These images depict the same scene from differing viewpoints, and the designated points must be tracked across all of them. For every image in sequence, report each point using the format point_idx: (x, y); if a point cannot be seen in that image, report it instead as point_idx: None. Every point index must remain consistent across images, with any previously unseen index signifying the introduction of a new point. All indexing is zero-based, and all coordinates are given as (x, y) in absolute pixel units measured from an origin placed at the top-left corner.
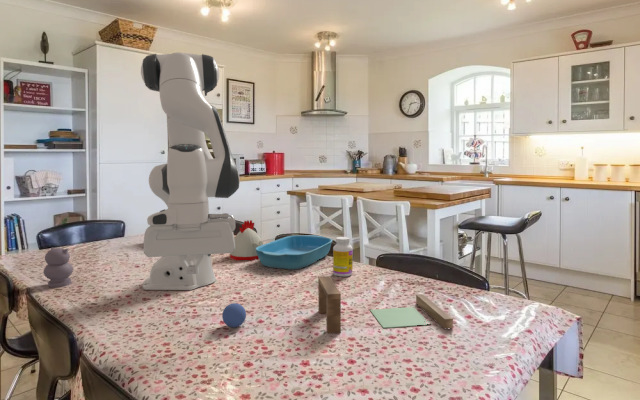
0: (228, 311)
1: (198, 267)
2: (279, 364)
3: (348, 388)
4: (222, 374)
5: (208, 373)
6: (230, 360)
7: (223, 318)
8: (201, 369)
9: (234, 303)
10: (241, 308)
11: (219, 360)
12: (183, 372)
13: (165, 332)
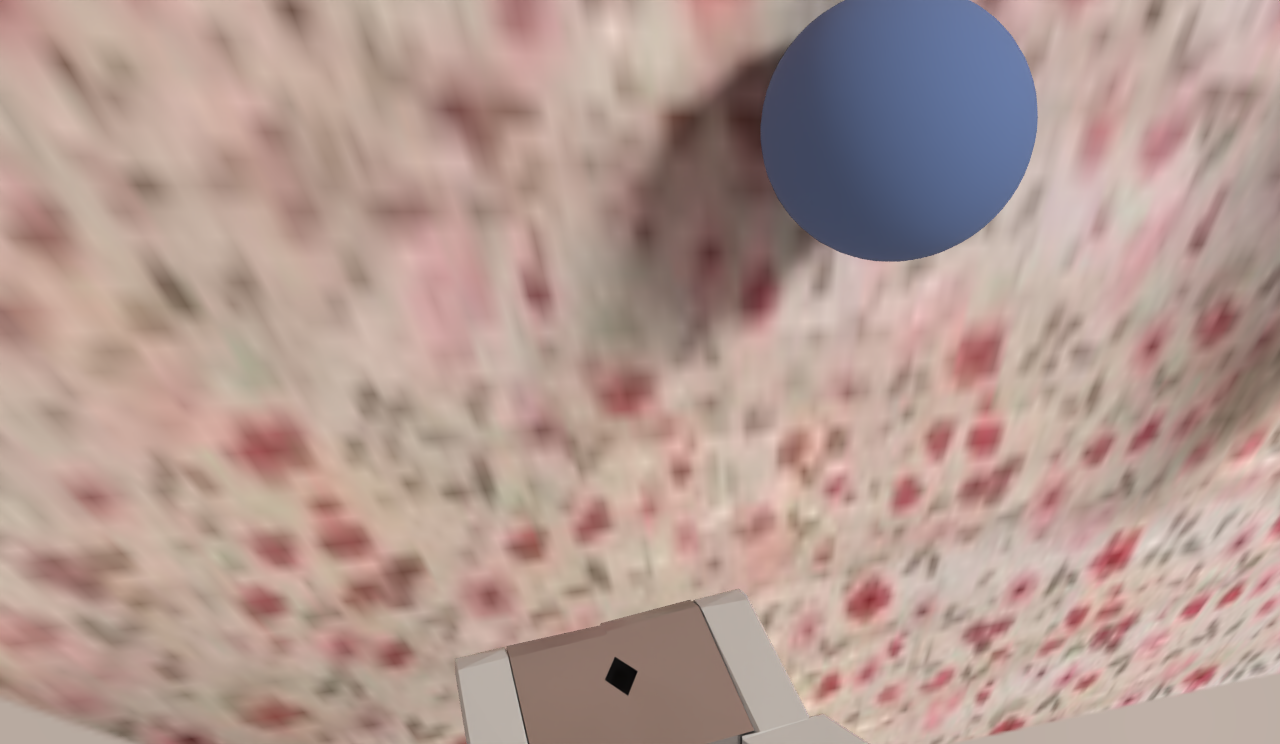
0: (870, 252)
1: (780, 676)
2: (1006, 581)
3: (1168, 675)
4: None
5: None
6: (781, 584)
7: (780, 201)
8: None
9: (976, 161)
10: (1011, 196)
11: None
12: None
13: (117, 220)
